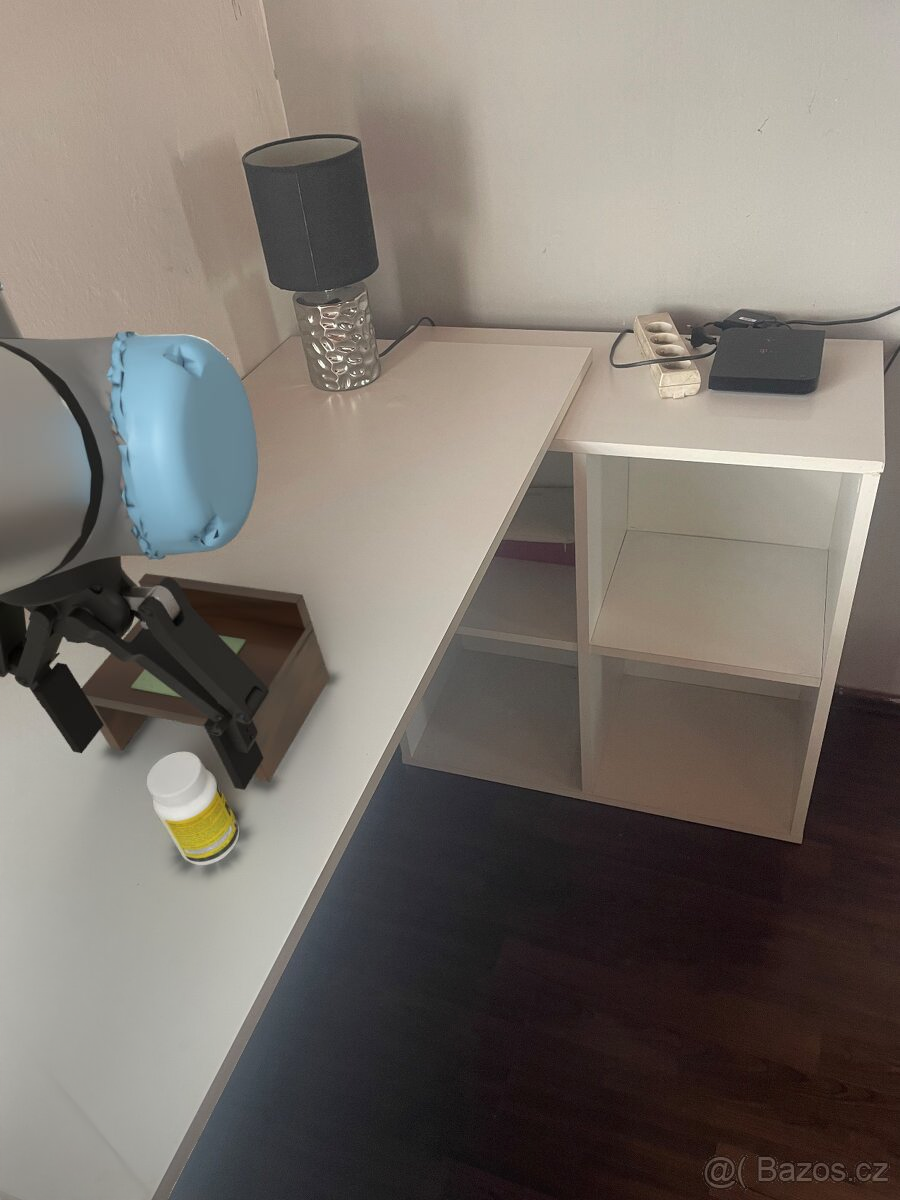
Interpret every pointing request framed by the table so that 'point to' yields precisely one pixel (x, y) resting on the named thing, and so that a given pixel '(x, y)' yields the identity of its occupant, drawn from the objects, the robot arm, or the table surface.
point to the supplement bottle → (192, 808)
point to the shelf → (259, 638)
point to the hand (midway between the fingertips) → (166, 755)
